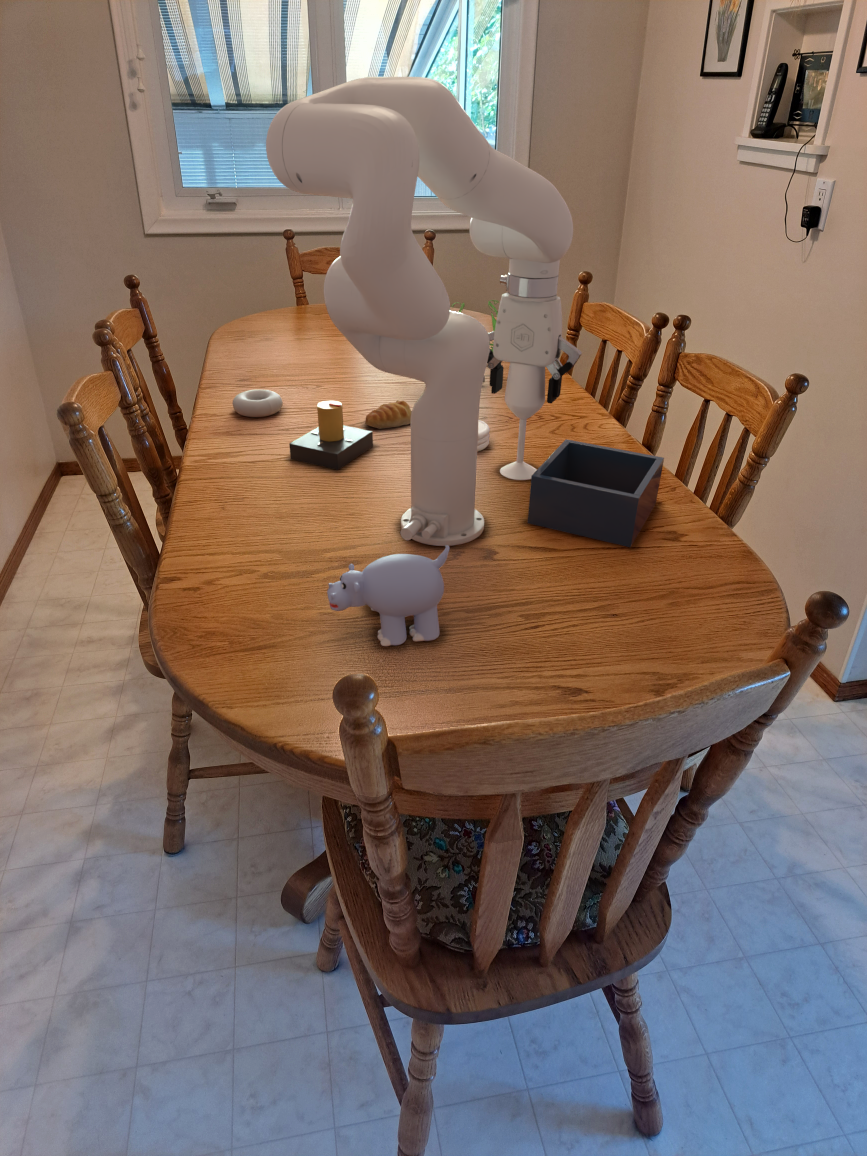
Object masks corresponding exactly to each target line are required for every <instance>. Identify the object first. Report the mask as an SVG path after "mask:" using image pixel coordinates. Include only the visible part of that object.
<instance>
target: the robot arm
mask: <svg viewBox="0 0 867 1156" xmlns="http://www.w3.org/2000/svg"><path fill="white" fill-rule="evenodd" d="M265 151H266V157H267V161H268V165H269V167H270V169H271V171H272V173H273V176H275V177H276V179H277V180H278V181H279V182H280V183H281V184H282V185H283V186H284V187H286V188H287V189H289V190H291V191H293V192H296V193H298V194H302V195H311V196H320V197H321V196H322V197H331V198H342V199H351V200H352V201H351V208H350V212H349V216H348V221H347V225H346V227H345V229H344V231H343V234H342V237H341V241H340V246H339V256H338V257H337V258H336V259H335V260H334V261H333V262H332V263H331V264H330V266H329V268H328V269H327V272H326V274H325V277H324V280H323V281H324V282H323V298H324V299H323V300H324V305H325V308H326V311H327V315H328V316H329V319H330V320H331V322H332V324H333V325H334V326H335V328H336V329H337V330H338V331H339V332H340V333H341V335H342V336H343V337H345V339H346V340H347V341H348V342H349V343H350V344H351V345H352V347H353V348H354V349H355V350H356V351H357V352H358V353H359V354H360V355H361V356H362V358H364V359H365V360H366V361H367V362H368V364H370V366H372V367H374V368H375V369H377V370H379V371H381V372H384V373H387V374H391V375H395V376H399V377H402V378H403V377H404V378H408V379H413V380H416V381H419V382H421V383H424V384H425V387H424V390H423V392H422V393H421V395H420V396H419V397H418V399H417V400H416V401H415V403H414V404H413V407H412V409H411V411H412V412H411V423H410V507H409V508H408V509H407V510H406V511H404V512H403V513H402V515H401V518H400V528H401V530H400V531H399V533H400V536H401V538H402V540H405V541H411V539H412V540H413V541H415V542H418V543H421V544H424V545H429V546H435V547H446V545H448V546H449V547H452V546H453V547H454V546H459V545H463V544H466V543H469V542H472V541H473V540H474V541H475V539H478V537H480V536H481V535H482V533H483V532H484V530H485V518H484V515H482V514H481V512H480V511H479V510H477V509H476V487H477V464H478V451H477V445H478V421H479V420H480V418H479V417H480V404H481V397H482V395H481V394H482V390H483V389H482V387H483V384H484V382H483V378H484V376H485V373H486V369H487V368H488V369H490V371H489V387H490V388H491V390H490V391H491V394H494V395H495V394H497V393H499V392H500V391H501V390H502V389H503V386H504V385H503V383H504V365H503V364H502V363H503V362H506V363H510V362H511V363H517V364H524V365H530V366H537V367H545V368H546V369H547V371H548V372H549V373H550V375H551V377H550V378H549V379H548V384H547V395H546V402H547V403H548V404H553V402H555V401H556V400H557V399H558V398H559V397H560V396H561V391H562V382H563V381H562V380H563V376H564V375H566V374H567V373H568V372H569V371H571V370H572V369H573V368H574V367H575V365H576V364H577V362H578V361H579V359H580V358H581V356H582V354H583V353H582V351H581V350H580V349H579V348H577V347H576V346H575V345H573V344H572V343H570V342H569V341H568V340H567V339H565V338H564V337H563V312H562V311H563V309H562V301H561V297H560V296H558V287H559V276H560V275H559V274H560V263H561V259H562V258H564V256H565V255H566V254H567V253H568V251H569V250H570V247H571V245H572V242H573V239H574V238H573V237H574V221H573V216H572V213H571V210H570V209H569V206H568V204H567V203H566V200H565V199H564V198H563V196H562V195H561V193H560V191H559V190H558V189H557V188H556V186H555V185H554V184H553V183H552V182H551V181H550V180H548V179H547V178H546V177H544V176H543V175H541V174H540V173H538V172H537V171H535V170H533V169H531V168H529V167H528V166H526V165H524V164H522V163H521V162H519V161H517V160H516V159H514V158H513V157H510V156H509V155H507V154H505V153H503V152H501V151H499V150H497V149H495V148H493V147H492V145H491V144H490V142H489V141H488V140H487V139H486V137H485V136H484V135H483V133H482V132H481V131H480V129H479V128H478V127H477V125H476V124H475V122H474V121H473V119H472V118H471V117H470V115H469V114H468V113H467V112H466V110H465V108H463V106H462V104H461V103H460V102H459V100H457V98H456V97H455V95H454V94H453V92H452V91H451V90H449V88H448V87H447V86H445V85H444V84H443V83H441V82H440V81H438V80H435V79H433V78H430V77H423V76H364V77H359V78H355V79H352V80H349V81H346V82H343V83H340V84H337V85H334V86H331V87H330V88H326V89H324V90H322V91H319V92H316V93H313V94H310V95H307V96H304V97H301V98H298V99H296V100H292V101H291V102H289V103H287V104H285V105H284V106H283V107H282V108H280V109H279V110H278V111H277V112H276V114H275V115H274V117H273V118H272V119H271V122H270V124H269V126H268V130H267V133H266V139H265ZM418 179H419V180H420V181H421V182H422V183H423V184H424V185H425V186H426V187H427V189H428V190H430V191H431V192H432V193H433V195H434V196H435V197H437V199H438V200H439V201H440V202H441V204H443V205H444V206H446V207H447V208H448V209H450V210H452V211H454V212H457V213H459V214H461V215H464V216H465V217H469V218H470V221H469V237H470V238H469V239H470V241H471V243H472V245H473V246H474V248H475V249H476V250H477V251H479V252H480V253H481V254H483V255H485V256H490V257H494V258H501V259H509V261H508V262H509V264H508V273H507V274H505V275H500V277H499V284H500V285H503V286H504V287H505V288H506V289H505V291H506V292H505V293H502V294H501V298H500V301H499V305H498V309H497V311H498V315H497V316H496V327H495V331H493V330H492V331H491V332H490V331H489V332H488V331H487V329H486V327H485V325H484V324H482V322H480V320H478V319H477V318H475V317H473V316H471V315H469V314H466V313H463V312H461V313H460V312H459V311H455V310H452V309H451V302H450V301H451V300H450V297H449V294H448V291H447V288H446V286H445V284H444V282H443V280H442V278H441V277H440V276H439V274H438V272H437V270H436V269H435V268H434V266H433V264H432V263H431V261H430V260H429V258H428V257H427V255H426V253H425V252H424V250H423V249H422V246H420V244H419V242H418V240H417V238H416V237H415V235H414V233H413V230H412V218H413V217H412V215H413V209H414V200H415V193H416V187H417V181H418ZM493 341H494V343H492V344H493V346H492V347H493V352H492V350H491V349H492V348H490V347H491V346H490V344H491V342H493ZM561 352H564V353H565V354H566V355H568V359H567V360H566V362H565V363H564V364H562V363H561V361H560V356H561ZM487 364H488V365H487ZM482 383H483V384H482Z"/></svg>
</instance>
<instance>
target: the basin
mask: <svg viewBox="0 0 867 1156" xmlns="http://www.w3.org/2000/svg"><path fill="white" fill-rule="evenodd" d="M664 461H665V457H663V456H657V455H653V454H648V453H647V454H646V453H641V452H636V451H630V450H625V449H621V448H614V447H609V446H604V445H599V444H594V443H588V442H582V441H578V440H572V439H564V440H563V441H562V443H561V444H560V445H559V446H558V447H557V448H556V449H555V450H554V451H553V452H552V454H550V455H549V456H548V457H547V458H546V460H545V461H544V462H542V464H541V465H540V466H539V467H538V468H536V469H537V470H536V471H535V472H534V474H533V475H532V476H531V479H530V486H529V487H530V488H529V499H528V500H529V501H528V509H527V510H528V512H527V524H529V525H534V526H537V527H541V528H546V529H551V530H555V531H559V532H562V533H567V534H570V535H571V534H572V535H575V536H580V537H584V538H589V539H593V540H596V541H601V542H605V543H611V544H614V545H619V546H624V547H627V548H631V547H632V546H633V544H634V542H635V541H636V539H637V538H638V536H639V534H640V532H641V531H642V529H643V527H644V526H645V523H646V522H647V520H648V518H649V516H651V513H652V511H653V510H654V508H655V506H656V504H657V499H658V495H659V488H660V484H661V477H662V472H663V467H664Z"/></svg>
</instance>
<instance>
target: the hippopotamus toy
mask: <svg viewBox="0 0 867 1156" xmlns="http://www.w3.org/2000/svg"><path fill="white" fill-rule="evenodd" d="M450 547H451V546H448V545H446V546H445V548H444V550H443V551H442V552H441V553H440V554H439V555H438V556H437V558H435V559H434V560H433V559H431V558H429V557H428V556H424V555H419V554H413V553H412V554H411V553H393V554H389V555H385V556H382V557H379V558H377V559H376V560H374V561H372V562H369V564H367V565H366V566H365V567H364V569H362V571H360V570H356V569H355V565H354V564H353V563H350V564H349V565H348V571H346V572H343V573H342V574H341V575H340V576H339V580H338V581H335V582H329V583H328V589H327V591H326V594H327V598H328V604H329V608H330V609H331V610H332V611H334V612H343V611H345V610H347V609H349V608H359V607H364V606H368V608H370V610H371V611H373V612H377V613H379V619H380V620H379V621H380V629H379V630H378V631H377V639H378V641H380V645H381V646H382V647H389V646H400V645H402V644H404V643H405V642H406V641H407V625H406V617H411V616H413V624H412V625H410V626H409V627H408V629H409V635H410V637H412V641H413V642H423V641H425V642H429V641H430V642H431V641H435V640H436V639H438V638H439V636H440V632H441V631H440V623H439V613H438V612H439V611H438V605H439V603H440V602H441V601H442V599H443V596H444V593H445V582H444V579H443V575H442V572H441V570H440V569H441V568H442V567H443V566H444V564H445V563H446V561H447V559H448V556H449V552H450V549H451V548H450Z"/></svg>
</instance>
